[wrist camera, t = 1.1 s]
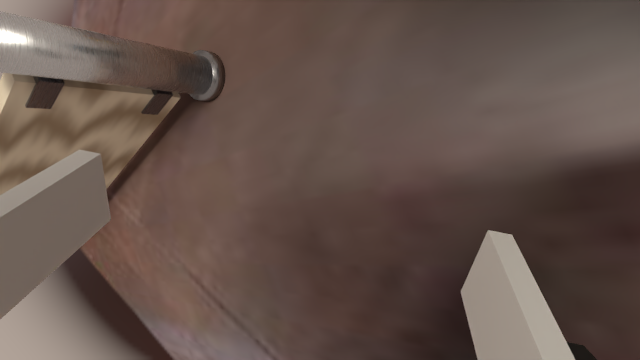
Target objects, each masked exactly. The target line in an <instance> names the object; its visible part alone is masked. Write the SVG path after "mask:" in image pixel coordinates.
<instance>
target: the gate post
mask: <svg viewBox="0 0 640 360" xmlns="http://www.w3.org/2000/svg"><path fill="white" fill-rule="evenodd" d="M0 72H1V73H10V74H19V75H28V76H37V77H45V78H54V79H63V80H72V81H81V82H90V83H98V84H107V85H116V86H125V87H134V88H143V89H152V90H160V91H169V92H178V93H187V94H190V96H191V97H192V98H194V99H196V100H202V101H212V100H214V99H215V98H217V97H218V95H219V94H220V93H221V91H222V89H223V86H224V81H225V71H224V66H223V63H222V61H221V59H220V58H219V57H218V56H217V55H216V54H215V53H212V52H208V51H204V50H198V51H195V52H194V53H193V54H191V53H187V52H182V51H178V50H173V49H169V48H164V47H160V46H155V45H151V44H146V43H142V42H137V41H132V40H128V39H123V38H119V37H114V36H110V35H105V34H101V33H96V32H92V31H87V30H83V29H78V28H73V27H69V26H64V25H60V24H55V23H50V22H46V21H41V20H37V19H32V18H28V17H23V16H19V15H15V14H10V13H5V12H1V11H0Z"/></svg>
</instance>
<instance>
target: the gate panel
mask: <svg viewBox="0 0 640 360" xmlns="http://www.w3.org/2000/svg"><path fill="white" fill-rule="evenodd" d="M180 98H181V97H180V95H179V93H178V92H169V91H160V90H152V89H143V88H134V87H125V86H116V85H107V84H98V83H90V82H81V81H72V80H63V79H54V78H45V77H37V76H28V75H19V74H10V73H3V75H2V77H1V80H0V195H1V194H3V193H5V192H7V191H8V190H10V189H12V188H14V187H15V186H17V185H19V184H20V183H22V182H24V181H26V180H27V179H29V178H31V177H33V176H34V175H36V174H38V173H40V172H41V171H43V170H45V169H47V168H48V167H50V166H52V165H54V164H55V163H57V162H59V161H60V160H62V159H64V158H66V157H67V156H69V155H71V154H73V153H74V152H76V151H78V150H84V151H89V152H94V153H100V154H101V158H102V165H103V171H104V178H105V184H106V189H107V188H108V187H109V186H110V184H111V183H112V182H113V181H114V179H115V178H116V177H117V176H118V174H119V173H120V172H121V171H122V170H123V168H124V167H125V166H126V165H127V163H128V162H129V161H130V160H131V158H132V157H133V156H134V155H135V154H136V152H137V151H138V150H139V149H140V147H141V146H142V145H143V144H144V142H145V141H146V140H147V139H148V138H149V136H150V135H151V134H152V133H153V131H154V130H155V129H156V128H157V126H158V125H159V124H160V123H161V122H162V120H163V119H164V118H165V117H166V115H167V114H168V113H169V112H170V110H171V109H172V108H173V107H174V106H175V104H176V103H177V102H178V101H179V99H180Z"/></svg>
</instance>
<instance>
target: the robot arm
mask: <svg viewBox="0 0 640 360" xmlns="http://www.w3.org/2000/svg"><path fill="white" fill-rule="evenodd" d="M110 220H111V216H110V210H109V203H108V197H107V191H106V184H105V178H104V171H103V165H102V158H101V154H100V153H94V152H89V151H84V150H78V151H76V152H74V153H73V154H71V155H69V156H67V157H66V158H64V159H62V160H60V161H59V162H57V163H55V164H54V165H52V166H50V167H48V168H47V169H45V170H43V171H41V172H40V173H38V174H36V175H34V176H33V177H31V178H29V179H27V180H26V181H24V182H22V183H20V184H19V185H17V186H15V187H14V188H12V189H10V190H8V191H7V192H5V193H3V194H1V195H0V319H1V318H2V317H3V316H4V315H6V314H7V313H8V312H9V311H10V310H11V309H12V308H13V307H15V306H16V305H17V304H18V303H19V302H20V301H21V300H22V299H23V298H24V297H26V296H27V295H28V294H29V293H30V292H31V291H32V290H33V289H34V288H36V286H38V285H39V284H40V283H41V282H42V281H43V280H44V279H46V278H47V277H48V276H49V275H50V274H51V273H52V272H53V271H54V270H56V269H57V268H58V267H59V266H60V265H61V264H62V263H63V262H64V261H66V260H67V259H68V258H69V257H70V256H71V255H72V254H73V253H74V252H76V251H77V250H78V249H79V248H80V247H81V246H82V245H83V244H84V243H86V242H87V241H88V240H89V239H90V238H91V237H92V236H93V235H94V234H96V233H97V232H98V231H99V230H100V229H101V228H102V227H103V226H104V225H106V224H107V223H108V222H109V221H110ZM461 296H462V300H463V304H464V308H465V312H466V315H467V319H468V323H469V327H470V331H471V335H472V339H473V343H474V347H475V351H476V355H477V359H478V360H596V358H595V357H594V356H593V355H592V354H591V353H590V352H589V351H588V350H587V349H586V348H585V347H584V346H583V345H578V344H574V343H569V342H566V340H565V338H564V336H563V334H562V332H561V330H560V328H559V326H558V325H557V323H556V321H555V319H554V317H553V315H552V313H551V311H550V309H549V307H548V305H547V303H546V301H545V299H544V297H543V295H542V293H541V291H540V289H539V287H538V285H537V283H536V281H535V279H534V277H533V275H532V273H531V271H530V269H529V267H528V265H527V263H526V261H525V259H524V257H523V255H522V254H521V252H520V250H519V248H518V246H517V244H516V242H515V240H514V238H513V236H512V235H511V234H506V233H500V232H495V231H490V230H488V231H487V233H486V236H485V238H484V240H483V242H482V245H481V247H480V249H479V251H478V254H477V256H476V258H475V260H474V263H473V265H472V267H471V269H470V272H469V274H468V276H467V278H466V281H465V283H464V285H463V287H462V290H461Z"/></svg>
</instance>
